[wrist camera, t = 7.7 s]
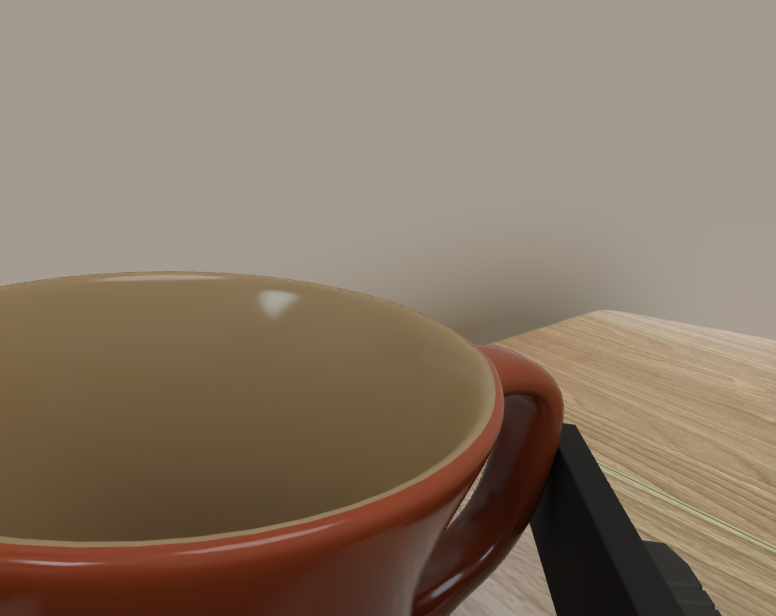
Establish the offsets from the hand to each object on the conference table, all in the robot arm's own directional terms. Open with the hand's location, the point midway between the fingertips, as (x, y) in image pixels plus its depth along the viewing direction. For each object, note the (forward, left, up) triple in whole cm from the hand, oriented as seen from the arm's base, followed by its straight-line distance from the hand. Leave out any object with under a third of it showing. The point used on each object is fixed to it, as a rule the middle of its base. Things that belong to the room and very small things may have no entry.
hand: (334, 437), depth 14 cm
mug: (0, -4, -7) cm, 8 cm away
